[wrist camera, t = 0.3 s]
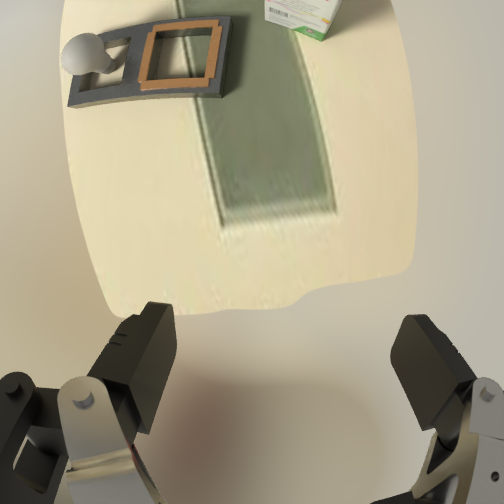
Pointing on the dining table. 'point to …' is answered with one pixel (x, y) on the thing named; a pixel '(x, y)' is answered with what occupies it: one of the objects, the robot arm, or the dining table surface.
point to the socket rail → (146, 60)
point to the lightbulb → (86, 56)
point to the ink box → (303, 15)
